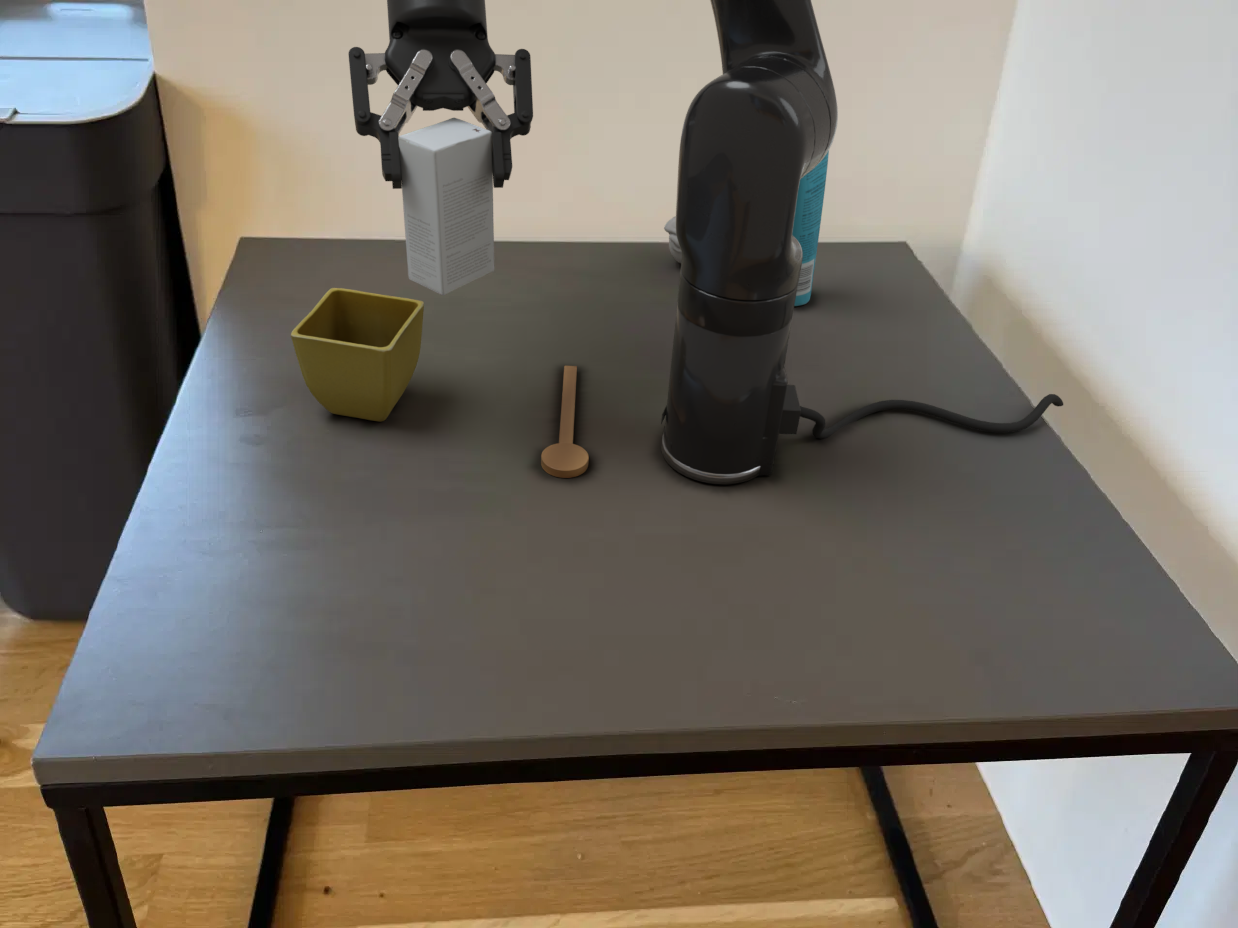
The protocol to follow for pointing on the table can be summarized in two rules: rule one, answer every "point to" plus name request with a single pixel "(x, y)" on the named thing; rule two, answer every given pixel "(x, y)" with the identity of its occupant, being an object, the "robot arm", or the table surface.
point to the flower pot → (359, 351)
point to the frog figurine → (673, 239)
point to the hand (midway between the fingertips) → (448, 184)
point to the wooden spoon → (566, 436)
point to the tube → (809, 225)
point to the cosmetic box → (448, 204)
